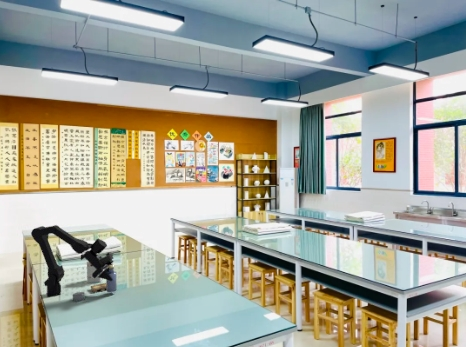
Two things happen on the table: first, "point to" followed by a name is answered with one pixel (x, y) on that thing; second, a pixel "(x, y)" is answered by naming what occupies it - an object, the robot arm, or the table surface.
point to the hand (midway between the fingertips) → (113, 278)
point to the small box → (89, 274)
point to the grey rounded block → (78, 296)
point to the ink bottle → (112, 285)
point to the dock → (98, 287)
